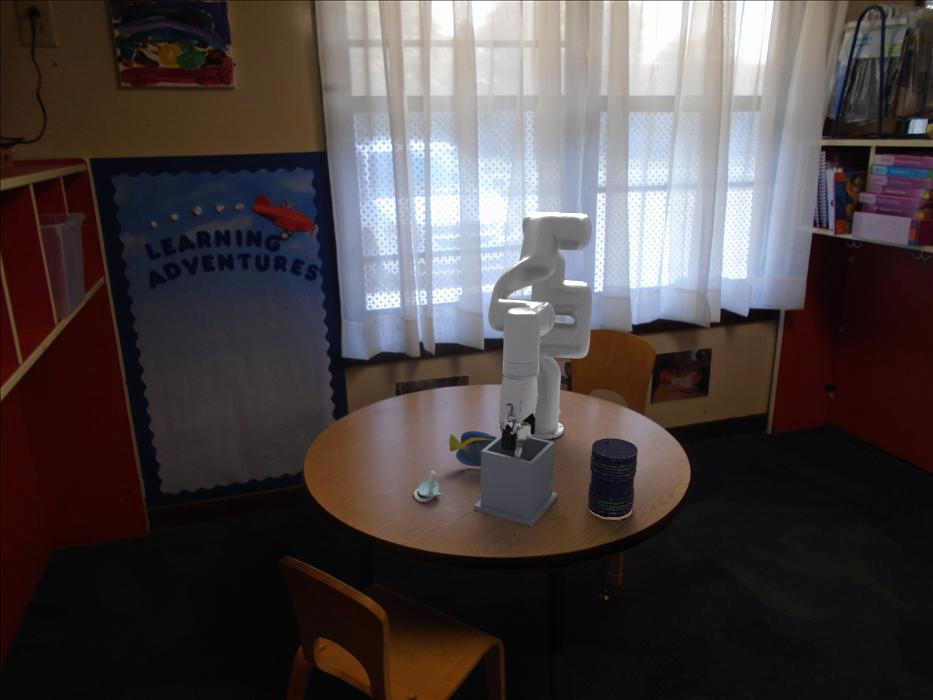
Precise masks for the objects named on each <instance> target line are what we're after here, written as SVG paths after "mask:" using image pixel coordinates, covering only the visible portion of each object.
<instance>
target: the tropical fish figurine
mask: <svg viewBox="0 0 933 700" xmlns="http://www.w3.org/2000/svg"><path fill="white" fill-rule="evenodd" d="M496 438H498V436H494V435H491V434H489V433H487V432H483V431H478V430H468V431H464V432H463V433H461V436H460V440H459V439H458V437H456V436H454V435H453V434H450V435H449V441H448V442H449V443H448V445H449V451H450V452H455V451H456V450H457V451H456V453H455V457H456V460H458V462H459V463H461V464H462V465H465V466H470V467H481V451H482V450H483V449H484V448H485V447H487V446H488V445H489V444H490V443H492V442H493V441H494V440H495V439H496Z"/></svg>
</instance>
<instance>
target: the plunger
mask: <svg viewBox="0 0 933 700" xmlns="http://www.w3.org/2000/svg"><path fill="white" fill-rule="evenodd" d="M508 425H510V427H511V428H512V425H513V423H510V422H508ZM530 431H531V425H530V424H529V423H527V422H524V421H521V422H520V423H518V424H517V427H516V430H515V433H516V434H517V437H516V450H515V454H514V457H515V458H519V459H522V447H526V446H528V445H529V444H530Z"/></svg>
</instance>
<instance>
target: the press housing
mask: <svg viewBox="0 0 933 700" xmlns="http://www.w3.org/2000/svg"><path fill="white" fill-rule="evenodd" d="M501 446H502V433H501V434H500V435H499V436H497V438H496V439H495V440H494V441H493V442H492V443H490V444H489V445H488V446H487V447H485V448H484V449H483V450H482V451H481V466H480V499H479V500H478V501H477V502H476V503H475V504H474V506H473V507H474V508H473V509H474V510H475V511H479V512H483V513H485V514H489V515H491V516H496V517H499V518H502V519H506V520H509V521H512V522H517V523H519V524H523V525H524V526H525V525H526V526H529V527H532V528H533V527H534V526H535V524H536V523H537V522H538V521H540V518H541V517H542V516H543V515H544V514H545V513H546V511H547V510H549V508H550V507H551V506H552V504H554V502H555V501H556V500H557V499H558V494H559V493H558V492H554V491H553V483H554V481H553V479H554V459H555V441H551V440H548V439H539V438H535V437H530V444H529V445H528V446H526V447H522V459H519V458H515V457H514V454H515V451H510V450H506V449H502V447H501ZM556 498H557V499H556ZM555 499H556V500H555ZM550 505H551V506H550ZM544 512H545V513H544ZM543 513H544V514H543Z"/></svg>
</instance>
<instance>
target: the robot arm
mask: <svg viewBox="0 0 933 700" xmlns="http://www.w3.org/2000/svg"><path fill="white" fill-rule="evenodd" d="M592 228H593V227H592V221H591V218H590V217H589V216H588V214H585V213H569V212H568V213H567V212H545V211H544V212H533V213H528V214H527V215H525V216H524V218H523V219H522V234H523V240H522V245H521V250H520V254H519V260H518V262H517V263H515V264H513V265H512V266H510V267H509V268H508V269H506V271H505V272H504V273H502V275H500V277H498V279H497V281H496V282H495V284H494V287H493V290H492V292H491V293H492V294H491V299H490V303H489V308H488V315H487V318H488V320H487V321H488V325H489V326H490V328H491V329H492V330H493V331H495V332H497V333H502V334H503V349H502V350H503V356H502V357H503V359H502V374H503V376H502V381H501V386H500V394H499V406H498V418H499V419H498V422H499V425H500V426H499V428H500V432H501V434H502V446H501V447H502V449H506V450H510V451H515V450H516V437H517V434H516V433H515V430H516V427H517V424H518V423H520V422H521V421H524V422H527V423H529V424H530V425H531V431H530V437H535V438H539V439H543V440H552V438H553V439H555V438H558V437H560V436H562V435H563V434H564V429H565V428H564V425H563V424H562V423H560V422H559V421H560V420H559V417H560V416H559V415H560V414H561V413H562V409H561V408H560V397H561V396H560V395H561V380H562V379H561V378H562V376H561V375H562V374H561V373H562V372H561V368H560V365H559V364H558V362H557V360H555V358H567V359H583V358H585V357H587V355H588V353H589V349H590V343H591V330H592V329H591V328H592V312H593V311H592V309H593V293H592V289H591V286H590V284H588V283H587V282H584V281H580V280H566V278H565V277H566V275H565V274H566V259H565V257H564V255H563V254H562V252H561V251H562V250H563V251H582V250H584V249H585V248H586V247H587V246H588V245H589V243H590V241H591V237H592V230H593V229H592ZM528 287H531V294H530V295H531V299H523V298H509V297H510V296H511V295H512V294H514V293H515V292H517V291H519V290H522V289H525V288H528ZM556 317H563V318H564V317H566V318H567V317H568V318H571V319H572V320H573V321H572V322H571V321H558V320H556ZM508 423H513V425H512V428H511V427H510V425H508ZM562 433H563V434H562Z"/></svg>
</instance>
